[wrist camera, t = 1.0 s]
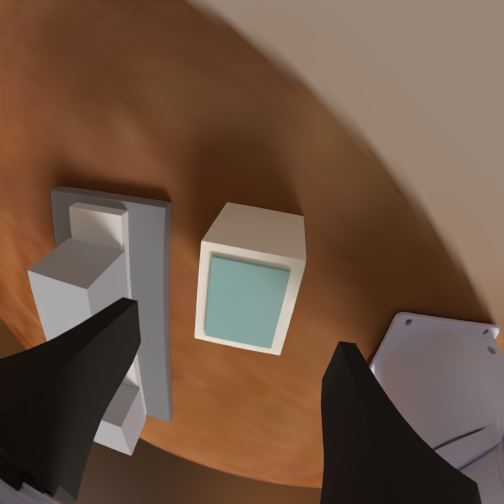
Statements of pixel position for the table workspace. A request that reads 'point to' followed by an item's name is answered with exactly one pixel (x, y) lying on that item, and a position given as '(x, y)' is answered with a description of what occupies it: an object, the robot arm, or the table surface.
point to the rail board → (142, 279)
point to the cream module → (249, 277)
